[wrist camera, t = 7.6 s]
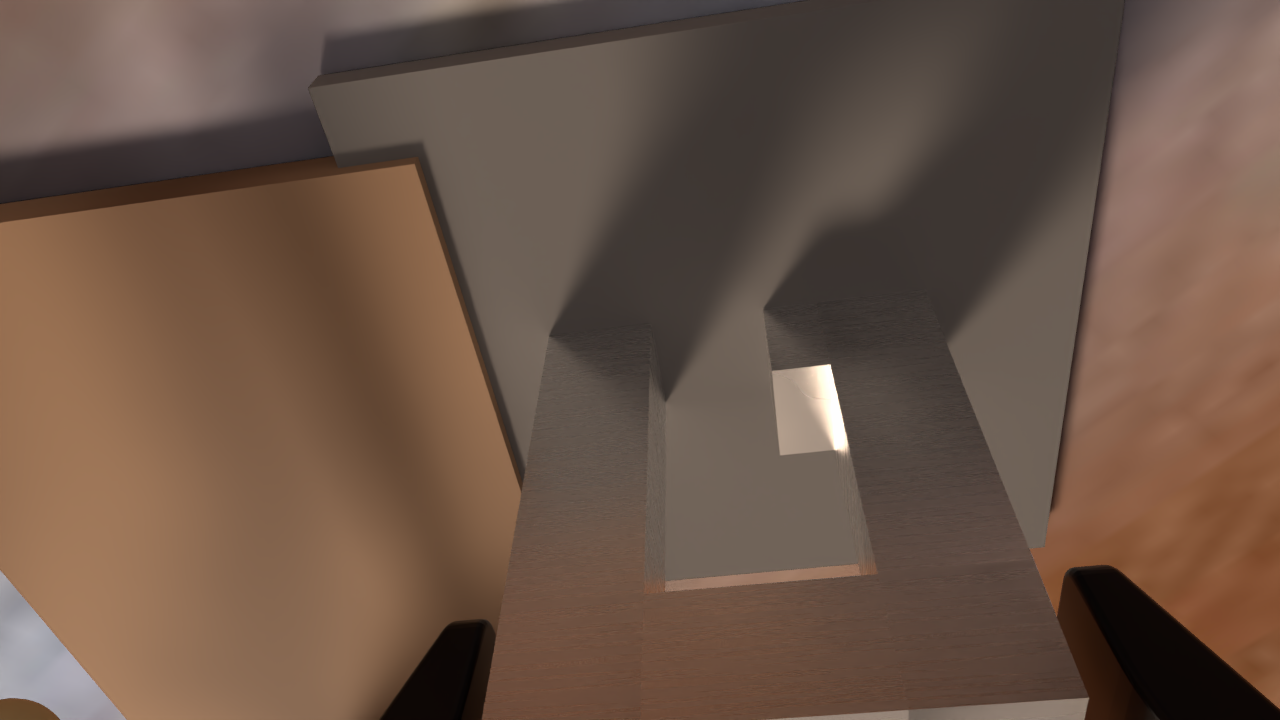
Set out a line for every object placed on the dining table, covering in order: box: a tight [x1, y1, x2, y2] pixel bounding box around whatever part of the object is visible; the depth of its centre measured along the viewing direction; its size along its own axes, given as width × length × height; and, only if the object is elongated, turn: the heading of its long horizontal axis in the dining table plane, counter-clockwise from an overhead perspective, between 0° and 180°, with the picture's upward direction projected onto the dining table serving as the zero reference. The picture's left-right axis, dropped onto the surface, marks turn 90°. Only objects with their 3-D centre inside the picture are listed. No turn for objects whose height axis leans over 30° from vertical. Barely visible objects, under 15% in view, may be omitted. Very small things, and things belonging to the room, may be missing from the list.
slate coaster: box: [308, 0, 1125, 581], centre depth 13 cm, size 9×9×1 cm
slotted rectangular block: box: [482, 289, 1089, 720], centre depth 10 cm, size 5×1×6 cm, turn 99°
